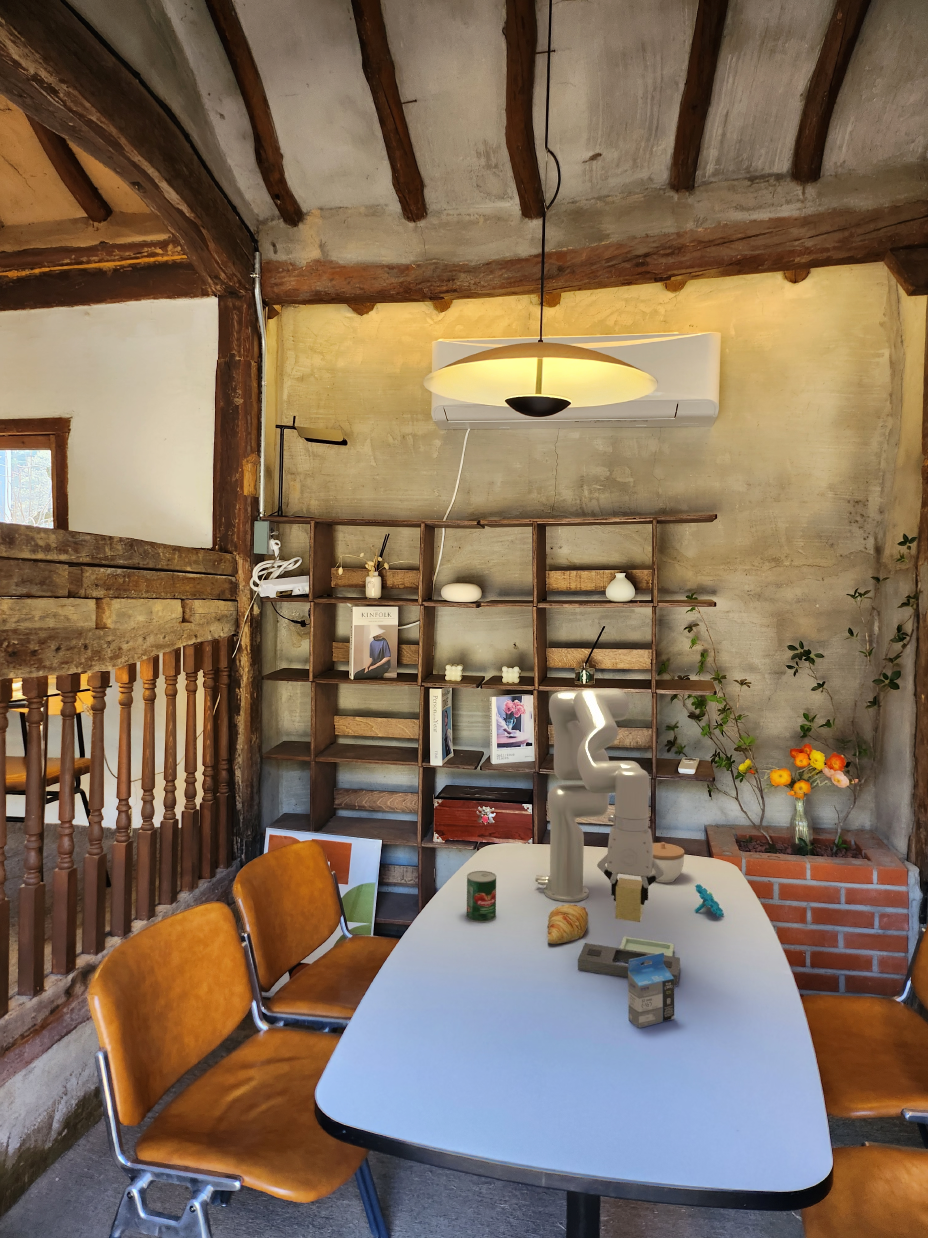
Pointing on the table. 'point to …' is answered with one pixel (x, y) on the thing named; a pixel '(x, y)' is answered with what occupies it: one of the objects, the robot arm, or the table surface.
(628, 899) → the wooden block
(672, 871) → the lidded bowl
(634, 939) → the tray
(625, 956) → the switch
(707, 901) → the gear
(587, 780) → the robot arm
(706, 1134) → the table surface
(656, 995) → the label tape box
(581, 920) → the croissant
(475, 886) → the canned tomato
